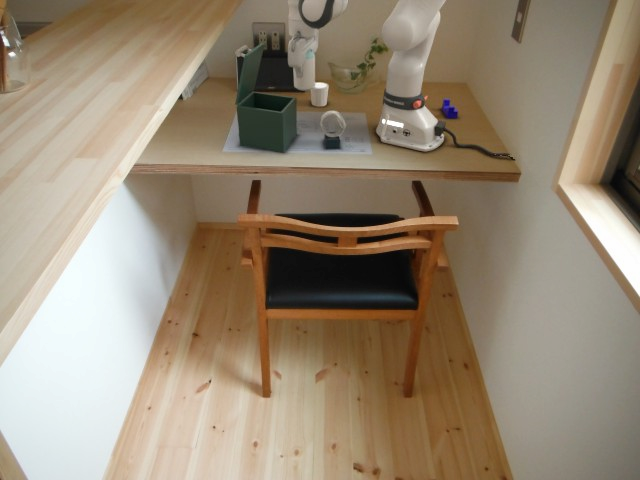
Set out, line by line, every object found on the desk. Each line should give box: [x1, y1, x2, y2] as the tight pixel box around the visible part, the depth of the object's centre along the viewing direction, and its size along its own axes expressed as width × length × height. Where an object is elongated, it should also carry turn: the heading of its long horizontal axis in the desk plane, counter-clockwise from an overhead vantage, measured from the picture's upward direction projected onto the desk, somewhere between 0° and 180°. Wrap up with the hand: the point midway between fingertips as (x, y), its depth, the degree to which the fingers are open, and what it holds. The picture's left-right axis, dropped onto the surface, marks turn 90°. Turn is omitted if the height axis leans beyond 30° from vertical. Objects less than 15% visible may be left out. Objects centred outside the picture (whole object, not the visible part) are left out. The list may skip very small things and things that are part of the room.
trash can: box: [235, 91, 298, 153], centre depth 144 cm, size 15×13×13 cm
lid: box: [234, 42, 266, 106], centre depth 136 cm, size 15×13×5 cm
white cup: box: [310, 81, 330, 108], centre depth 170 cm, size 7×7×7 cm
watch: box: [319, 110, 347, 150], centre depth 143 cm, size 6×8×11 cm
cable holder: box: [441, 98, 459, 119], centre depth 166 cm, size 8×4×4 cm, turn 2°
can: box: [292, 49, 316, 92], centre depth 150 cm, size 7×7×12 cm
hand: (303, 73), depth 151 cm, fingers closed on can, 7 cm apart
